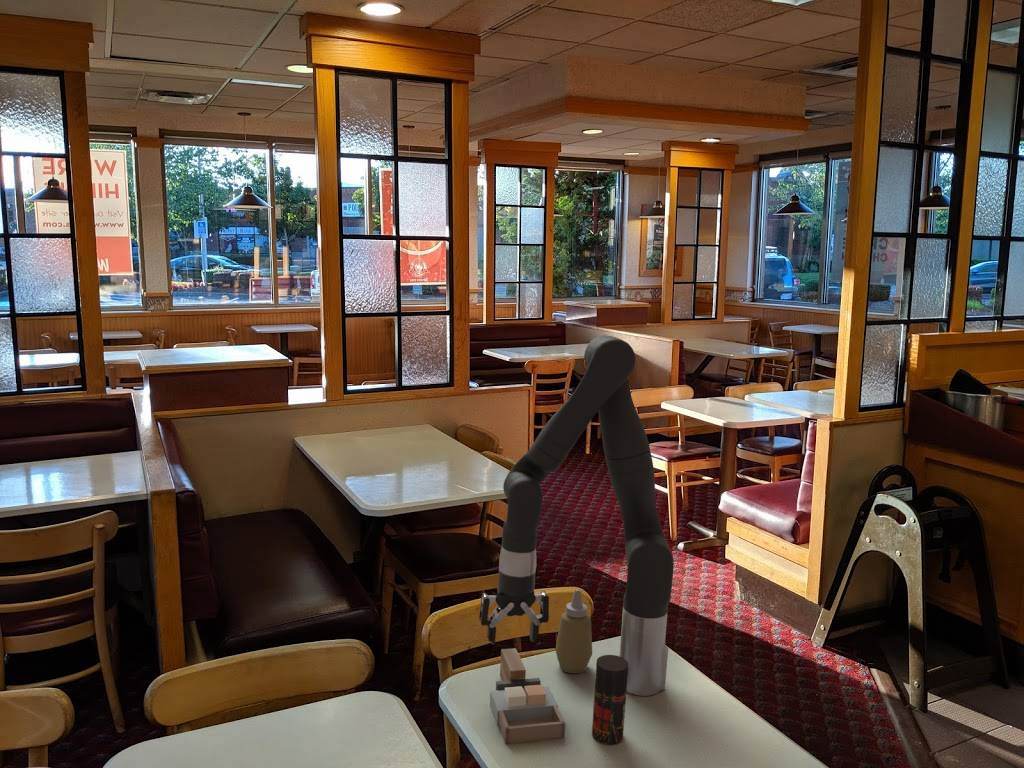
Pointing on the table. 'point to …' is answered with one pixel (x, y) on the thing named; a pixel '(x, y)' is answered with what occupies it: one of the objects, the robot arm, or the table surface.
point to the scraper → (513, 671)
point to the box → (532, 728)
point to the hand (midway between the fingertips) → (512, 641)
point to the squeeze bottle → (574, 637)
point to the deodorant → (609, 699)
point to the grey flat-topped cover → (521, 707)
